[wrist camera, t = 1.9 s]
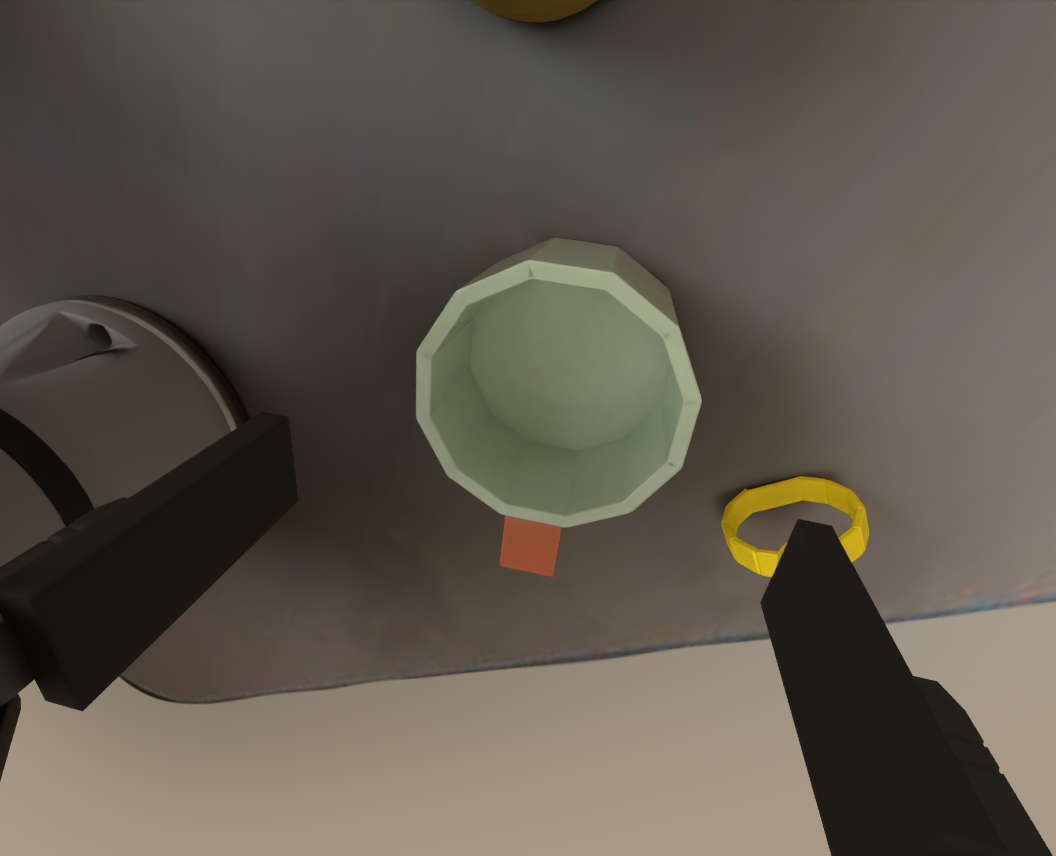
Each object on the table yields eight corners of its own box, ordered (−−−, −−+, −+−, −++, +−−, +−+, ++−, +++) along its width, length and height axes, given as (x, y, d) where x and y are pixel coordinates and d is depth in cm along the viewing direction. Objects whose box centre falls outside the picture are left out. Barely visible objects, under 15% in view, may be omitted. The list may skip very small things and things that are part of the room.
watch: (723, 524, 28) (743, 606, 23) (710, 483, 27) (728, 558, 22) (844, 500, 26) (896, 583, 21) (835, 455, 25) (888, 530, 20)
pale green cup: (468, 224, 22) (416, 242, 17) (710, 259, 21) (736, 291, 16) (454, 477, 28) (413, 548, 23) (641, 514, 27) (643, 598, 22)
